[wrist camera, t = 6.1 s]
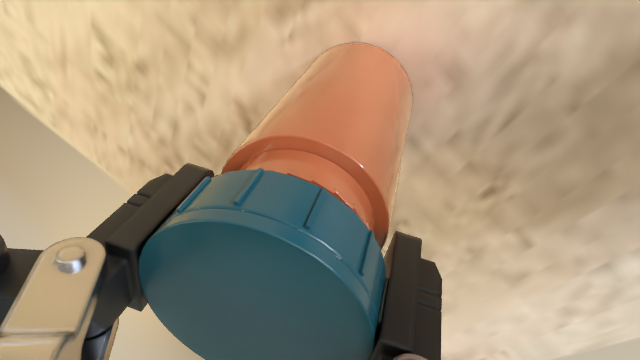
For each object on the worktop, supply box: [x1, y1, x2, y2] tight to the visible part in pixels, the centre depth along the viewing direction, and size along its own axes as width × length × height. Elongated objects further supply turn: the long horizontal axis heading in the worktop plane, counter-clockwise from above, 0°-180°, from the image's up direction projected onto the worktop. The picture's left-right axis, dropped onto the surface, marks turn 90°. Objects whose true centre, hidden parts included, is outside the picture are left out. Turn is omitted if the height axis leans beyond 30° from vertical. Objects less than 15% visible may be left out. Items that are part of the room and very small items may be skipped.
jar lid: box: [139, 168, 388, 360], centre depth 10 cm, size 6×6×2 cm
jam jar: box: [221, 43, 412, 250], centre depth 14 cm, size 5×5×11 cm
